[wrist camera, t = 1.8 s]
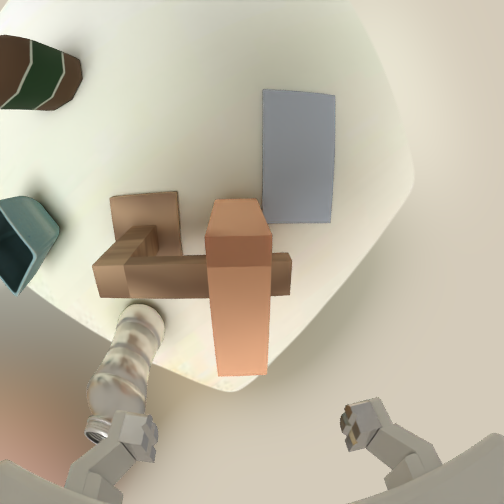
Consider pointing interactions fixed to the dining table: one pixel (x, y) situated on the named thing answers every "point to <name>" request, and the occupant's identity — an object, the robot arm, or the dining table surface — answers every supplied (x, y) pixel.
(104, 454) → the robot arm
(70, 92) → the beer bottle
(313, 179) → the felt mat
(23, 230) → the flower pot
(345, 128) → the dining table surface
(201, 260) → the brown wooden angular piece
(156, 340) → the plastic bottle
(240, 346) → the c link
